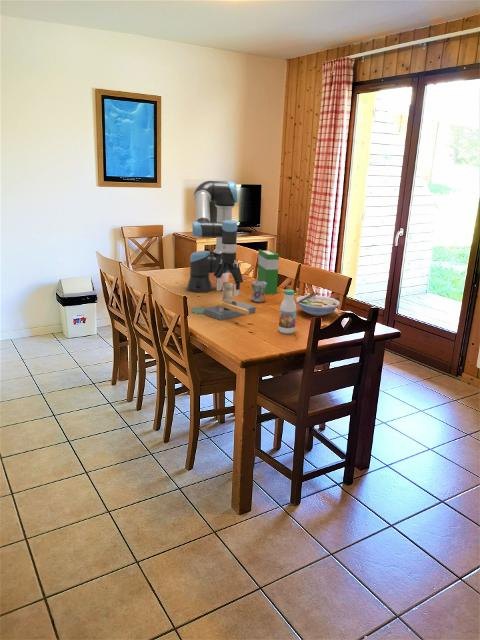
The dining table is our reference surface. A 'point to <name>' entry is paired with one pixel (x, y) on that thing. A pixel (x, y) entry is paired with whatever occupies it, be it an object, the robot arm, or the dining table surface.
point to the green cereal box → (268, 270)
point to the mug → (258, 291)
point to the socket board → (227, 311)
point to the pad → (198, 310)
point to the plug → (228, 293)
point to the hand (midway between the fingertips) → (227, 292)
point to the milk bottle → (287, 313)
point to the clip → (233, 307)
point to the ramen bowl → (317, 304)
